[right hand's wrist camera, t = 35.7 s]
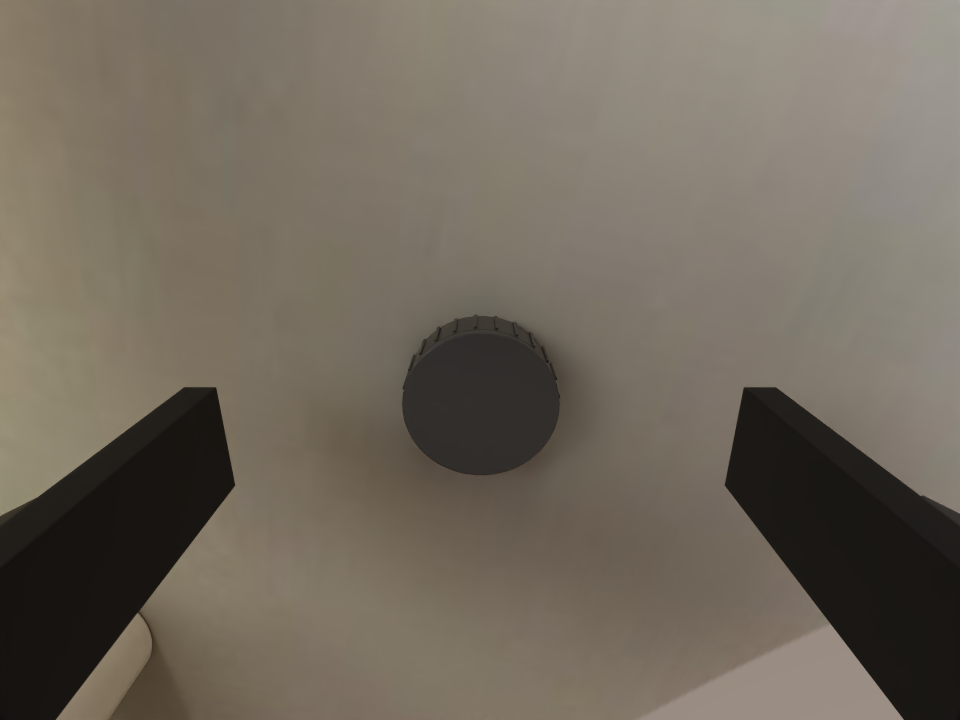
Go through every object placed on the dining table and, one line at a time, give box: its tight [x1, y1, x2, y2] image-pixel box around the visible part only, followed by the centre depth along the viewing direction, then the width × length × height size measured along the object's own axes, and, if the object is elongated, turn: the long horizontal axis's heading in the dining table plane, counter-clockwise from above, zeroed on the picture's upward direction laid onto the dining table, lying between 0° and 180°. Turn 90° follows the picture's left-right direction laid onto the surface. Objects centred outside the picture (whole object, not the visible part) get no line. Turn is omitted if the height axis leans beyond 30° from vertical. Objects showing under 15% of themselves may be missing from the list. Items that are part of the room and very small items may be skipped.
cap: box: [402, 315, 560, 475], centre depth 15 cm, size 4×4×2 cm
